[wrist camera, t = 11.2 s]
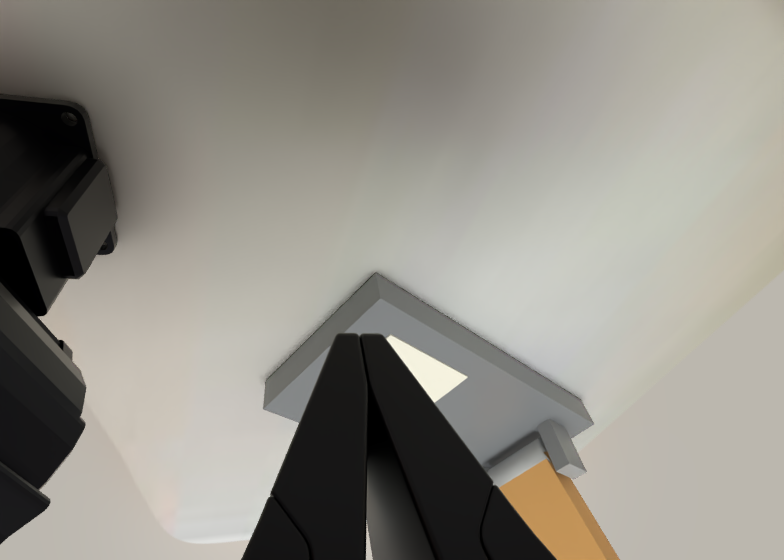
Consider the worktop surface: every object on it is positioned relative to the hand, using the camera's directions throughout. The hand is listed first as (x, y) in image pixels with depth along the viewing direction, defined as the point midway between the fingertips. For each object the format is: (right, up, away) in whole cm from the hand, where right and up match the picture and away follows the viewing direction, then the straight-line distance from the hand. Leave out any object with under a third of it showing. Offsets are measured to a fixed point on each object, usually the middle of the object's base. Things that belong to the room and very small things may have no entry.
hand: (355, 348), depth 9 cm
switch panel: (+4, -6, +22) cm, 23 cm away
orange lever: (+9, -11, +23) cm, 28 cm away
